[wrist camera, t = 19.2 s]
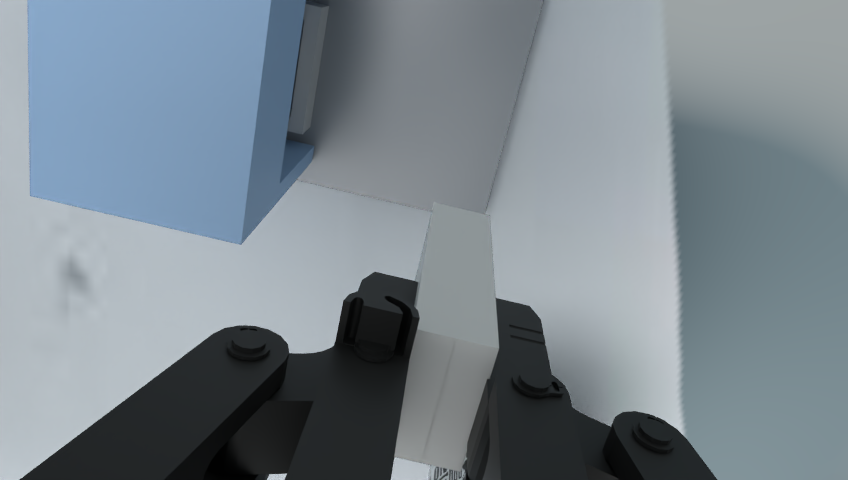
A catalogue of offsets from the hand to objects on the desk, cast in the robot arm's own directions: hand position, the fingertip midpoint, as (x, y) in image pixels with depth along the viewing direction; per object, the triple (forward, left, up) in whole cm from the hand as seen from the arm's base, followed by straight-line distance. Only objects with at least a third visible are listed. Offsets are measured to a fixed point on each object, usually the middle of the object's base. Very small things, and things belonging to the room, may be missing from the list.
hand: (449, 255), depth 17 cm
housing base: (-11, 0, -24) cm, 27 cm away
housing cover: (-13, 0, -22) cm, 26 cm away
